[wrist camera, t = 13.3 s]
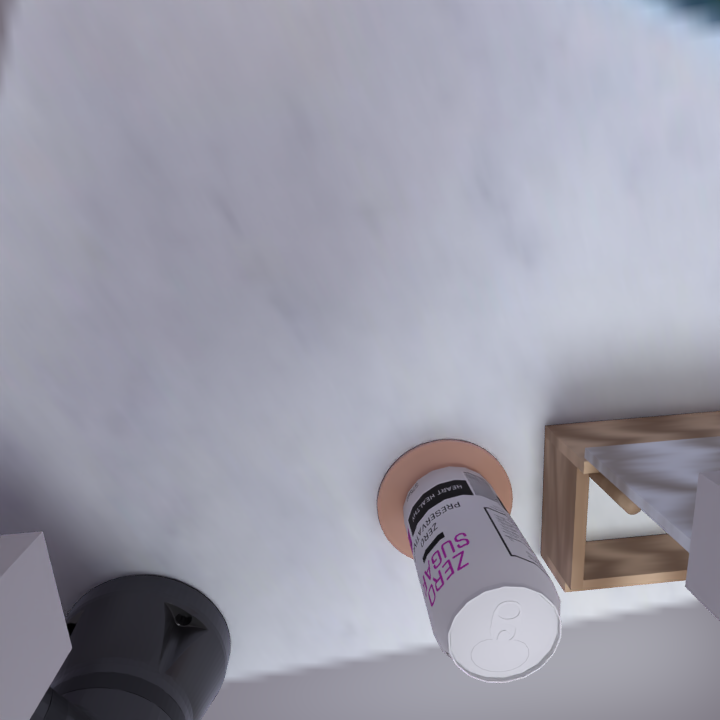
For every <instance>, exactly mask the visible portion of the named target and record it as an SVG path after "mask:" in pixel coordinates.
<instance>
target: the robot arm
mask: <svg viewBox="0 0 720 720" xmlns="http://www.w3.org/2000/svg"><path fill="white" fill-rule="evenodd" d="M685 587H686V588H687V589H688V590H689V591H690V592H691V593H692V594H693V595H694V596H695V597H696V598H697V599H698V600H699V601H700V602H701V603H702V604H703V605H704V606H705V607H706V608H707V609H708V610H709V611H710V612H711V613H712V614H713V615H714V616H715V617H716V618H717V619H718V620H719V621H720V470H719V471H708V472H699V476H698V484H697V492H696V501H695V509H694V517H693V526H692V534H691V542H690V551H689V559H688V567H687V576H686V584H685ZM229 656H230V636H229V631H228V628H227V625H226V623H225V621H224V619H223V617H222V615H221V614H220V612H219V611H218V609H217V608H216V607H215V606H214V605H213V604H212V603H211V602H210V601H209V600H208V599H207V598H206V597H205V596H203V595H202V594H201V593H199V592H198V591H196V590H195V589H193V588H191V587H189V586H187V585H185V584H183V583H180V582H178V581H175V580H172V579H168V578H163V577H157V576H129V577H123V578H118V579H114V580H111V581H108V582H106V583H104V584H101V585H99V586H97V587H96V588H94V589H92V590H91V591H89V592H88V593H87V594H85V595H84V596H83V597H82V598H81V599H80V600H79V601H78V602H77V603H76V604H75V605H74V607H73V608H72V610H71V611H70V613H69V614H68V616H67V617H66V619H65V617H64V613H63V609H62V605H61V601H60V597H59V593H58V589H57V586H56V582H55V578H54V574H53V570H52V566H51V562H50V558H49V554H48V550H47V546H46V542H45V538H44V534H43V531H38V532H27V533H16V534H4V535H1V536H0V720H201V719H202V717H203V716H204V714H205V713H206V711H207V709H208V708H209V706H210V704H211V703H212V701H213V700H214V699H215V697H216V695H217V694H218V692H219V690H220V688H221V686H222V683H223V681H224V678H225V674H226V670H227V665H228V661H229Z"/></svg>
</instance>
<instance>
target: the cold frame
mask: <svg viewBox="0 0 720 720" xmlns="http://www.w3.org/2000/svg"><path fill="white" fill-rule="evenodd" d="M719 470H720V411H713V412H702V413H690V414H678V415H666V416H654V417H642V418H630V419H618V420H606V421H594V422H582V423H571V424H559V425H547V426H545V447H544V476H543V506H542V535H541V556H542V558H543V559H544V561H545V563H546V564H547V566H548V567H549V569H550V570H551V572H552V573H553V575H554V576H555V578H556V579H557V581H558V583H559V584H560V586H561V587H562V589H563V590H564V592H572V591H583V590H593V589H603V588H613V587H623V586H633V585H643V584H653V583H663V582H673V581H683V580H686V576H687V567H688V559H689V551H690V542H691V534H692V526H693V517H694V509H695V501H696V492H697V484H698V476H699V472H708V471H719ZM589 477H590V478H591V479H592V480H593V481H594V482H596V483H597V484H598V485H599V486H600V487H601V488H602V489H603V490H604V491H605V492H606V493H607V494H608V495H609V496H610V497H611V498H612V499H613V500H614V501H615V502H616V503H617V504H618V505H619V506H620V507H622V508H623V509H624V510H625V511H626V512H627V513H628V514H631V515H634V514H637V513H638V512H640V510H642V511H644V512H645V513H646V514H647V515H648V516H649V517H650V518H651V519H652V520H653V521H655V522H656V523H657V524H658V525H659V526H660V527H661V528H662V529H663V530H664V531H666V532H667V533H668V534H662V535H651V536H641V537H630V538H620V539H609V540H599V541H588V542H586V526H587V509H588V492H589Z"/></svg>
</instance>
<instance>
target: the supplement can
mask: <svg viewBox="0 0 720 720" xmlns="http://www.w3.org/2000/svg"><path fill="white" fill-rule="evenodd" d="M403 514H404V524H405V528H406V531H407V535H408V539H409V543H410V547H411V550H412V554H413V558H414V562H415V566H416V569H417V573H418V577H419V581H420V585H421V588H422V592H423V596H424V600H425V603H426V607H427V611H428V615H429V619H430V622H431V626H432V630H433V634H434V636H435V638H436V640H437V642H438V644H439V646H440V648H441V650H442V651H443V652H444V653H445V654H447V655H448V656H449V657H450V658H451V659H453V660H454V662H455V664H456V666H457V667H459V668H460V669H461V670H462V671H463V672H465V673H466V674H467V675H468V676H470V677H472V678H476V679H478V680H481V681H484V682H493V683H496V682H497V683H507V682H510V681H514V680H518V679H522V678H525V677H527V676H528V675H530V674H532V673H533V672H535V671H537V670H538V669H540V668H542V666H543V665H544V664H545V663H546V662H547V661H548V660H549V659H550V658H551V657H552V656H553V654H554V653H555V650H556V648H557V646H558V644H559V641H560V639H561V622H562V621H561V619H560V598H559V596H558V593H557V591H556V589H555V586H554V584H553V582H552V580H551V579H550V577H549V576H548V574H547V573H546V571H545V569H544V568H543V566H542V565H541V563H540V562H539V560H538V558H537V557H536V555H535V554H534V552H533V551H532V549H531V547H530V546H529V544H528V543H527V541H526V540H525V538H524V536H523V535H522V533H521V532H520V530H519V529H518V527H517V525H516V524H515V522H514V521H513V519H512V518H511V516H510V514H509V513H508V511H507V510H506V508H505V506H504V505H503V503H502V502H501V500H500V499H499V497H498V495H497V494H496V492H495V491H494V489H493V488H492V486H491V484H490V483H489V482H488V481H487V480H486V479H485V478H484V477H482V476H481V475H480V474H479V473H477V472H475V471H472V470H470V469H468V468H465V467H450V466H448V467H444V468H440V469H437V470H433V471H431V472H429V473H428V474H426V475H425V476H423V477H422V478H420V479H418V480H417V482H416V483H415V484H414V485H413V487H412V488H411V489H410V491H409V492H408V494H407V497H406V500H405V503H404V506H403Z"/></svg>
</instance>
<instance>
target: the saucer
mask: <svg viewBox="0 0 720 720" xmlns="http://www.w3.org/2000/svg"><path fill="white" fill-rule="evenodd" d="M448 466H450V467H465V468H468V469H470V470H472V471H475V472H477V473H479V474H480V475H481V476H482V477H484V478H485V479H486V480H487V481H488V482H489V483H490V484H491V486H492V488H493V489H494V491H495V492H496V494H497V495H498V497H499V499H500V500H501V502H502V503H503V505H504V506H505V508H506V510H507V511H508V513H509V514H510V513H511V509H512V500H513V499H512V488H511V484H510V481H509V478H508V476H507V474H506V472H505V470H504V469H503V467H502V466H501V465H500V463H499V462H498V461H497V459H496V458H495V457H494V456H493V455H492V454H490V453H489V452H488V451H486V450H485V449H483V448H481V447H479V446H478V445H475V444H472V443H470V442H466V441H461V440H453V439H448V440H437V441H432V442H428V443H425V444H422V445H420V446H417V447H415V448H413V449H412V450H410V451H408V452H407V453H405V454H404V455H403V456H401V457H400V458H399V459H398V460H397V461H396V462H395V463H394V464H393V465H392V466H391V468H390V469H389V470H388V472H387V473H386V475H385V477H384V479H383V481H382V483H381V486H380V489H379V493H378V499H377V510H378V517H379V521H380V525H381V528H382V530H383V532H384V534H385V536H386V537H387V539H388V540H389V541H390V543H391V544H392V545H393V546H394V547H395V548H396V549H397V550H399V551H400V552H401V553H403V554H404V555H406V556H408V557H410V558H412V559H414V558H413V554H412V550H411V547H410V543H409V539H408V535H407V531H406V528H405V524H404V514H403V506H404V503H405V500H406V497H407V494H408V492H409V491H410V489H411V488H412V487H413V485H414V484H415V483H416V482H417V480H418V479H420V478H422V477H423V476H425V475H426V474H428V473H429V472H431V471H433V470H437V469H440V468H444V467H448Z"/></svg>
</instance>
